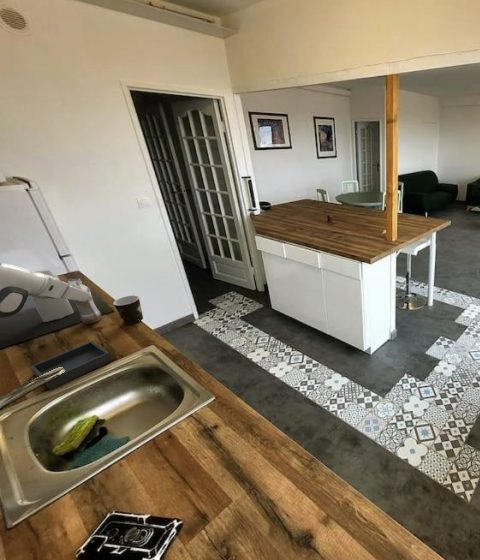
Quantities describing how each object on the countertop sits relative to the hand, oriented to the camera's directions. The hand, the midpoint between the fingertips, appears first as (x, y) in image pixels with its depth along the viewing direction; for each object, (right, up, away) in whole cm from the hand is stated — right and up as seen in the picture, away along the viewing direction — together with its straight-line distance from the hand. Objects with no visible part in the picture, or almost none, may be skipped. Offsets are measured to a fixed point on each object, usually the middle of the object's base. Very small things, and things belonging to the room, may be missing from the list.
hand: (84, 297), depth 129 cm
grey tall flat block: (-18, -9, +7) cm, 22 cm away
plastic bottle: (0, -11, +4) cm, 12 cm away
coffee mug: (+16, -11, +5) cm, 20 cm away
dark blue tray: (+18, -23, -21) cm, 36 cm away
